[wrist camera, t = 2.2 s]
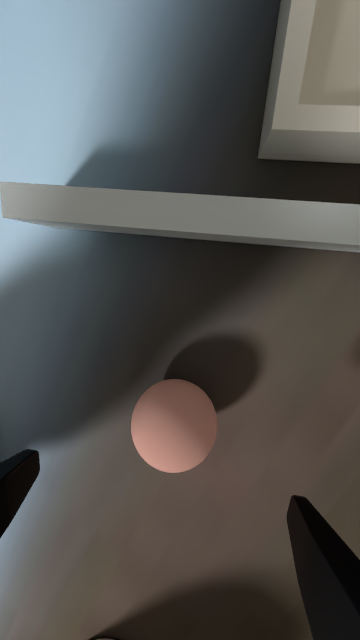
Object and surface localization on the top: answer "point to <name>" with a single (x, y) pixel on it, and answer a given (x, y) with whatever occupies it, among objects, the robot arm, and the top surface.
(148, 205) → the wall
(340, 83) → the dish
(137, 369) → the top surface
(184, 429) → the ball
